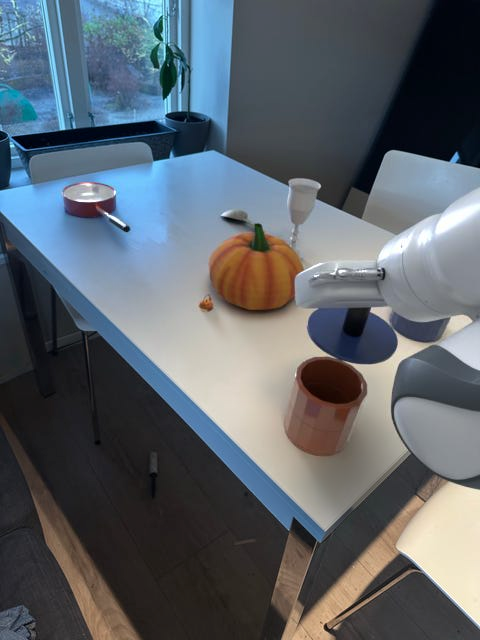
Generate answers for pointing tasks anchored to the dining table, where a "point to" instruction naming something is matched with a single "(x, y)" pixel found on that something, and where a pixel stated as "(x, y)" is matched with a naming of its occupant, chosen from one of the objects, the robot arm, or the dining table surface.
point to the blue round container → (419, 328)
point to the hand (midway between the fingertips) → (359, 299)
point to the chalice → (300, 204)
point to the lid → (352, 335)
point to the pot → (324, 405)
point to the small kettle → (206, 304)
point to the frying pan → (92, 201)
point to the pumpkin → (255, 270)
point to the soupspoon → (238, 216)
